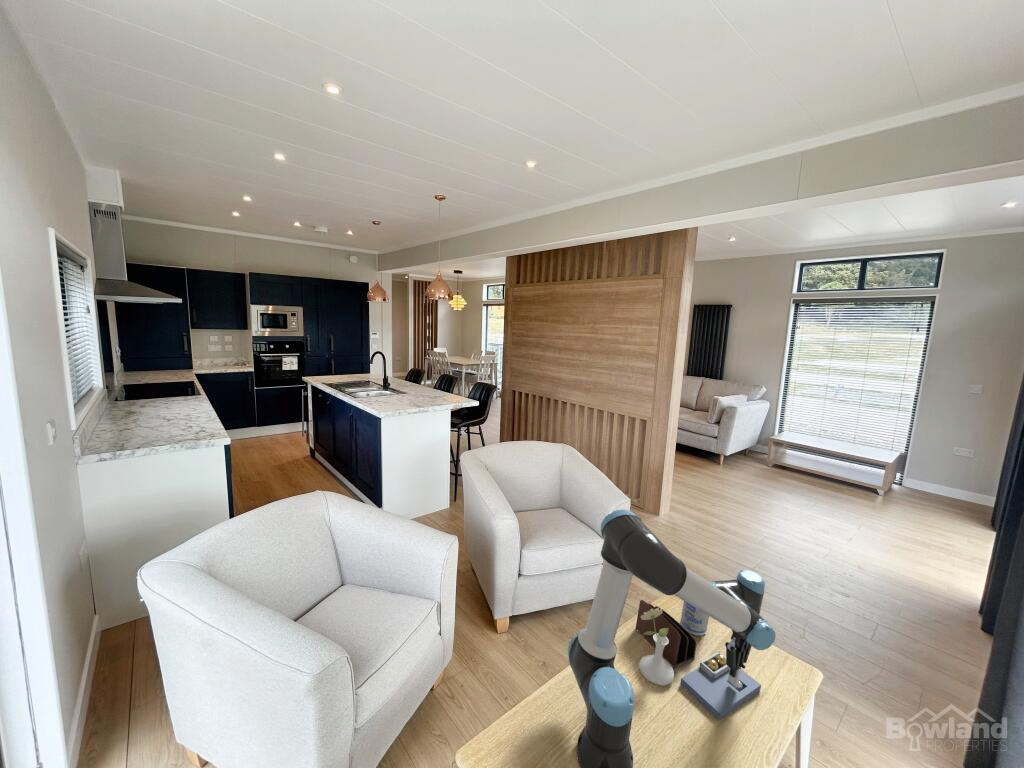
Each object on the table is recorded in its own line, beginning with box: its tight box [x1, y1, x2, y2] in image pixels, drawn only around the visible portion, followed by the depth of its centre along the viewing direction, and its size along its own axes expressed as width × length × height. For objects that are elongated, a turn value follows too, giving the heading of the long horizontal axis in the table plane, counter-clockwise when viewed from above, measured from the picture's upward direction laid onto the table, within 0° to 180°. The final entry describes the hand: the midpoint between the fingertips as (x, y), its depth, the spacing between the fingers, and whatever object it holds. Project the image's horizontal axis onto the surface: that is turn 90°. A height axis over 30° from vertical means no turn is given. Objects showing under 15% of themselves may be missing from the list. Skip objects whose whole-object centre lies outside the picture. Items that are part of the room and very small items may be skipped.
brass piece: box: [707, 659, 718, 672], centre depth 143 cm, size 4×4×4 cm
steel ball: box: [731, 681, 743, 692], centre depth 139 cm, size 3×3×3 cm
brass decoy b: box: [715, 653, 726, 667], centre depth 145 cm, size 4×4×4 cm
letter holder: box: [635, 599, 697, 669], centre depth 156 cm, size 10×20×14 cm, turn 26°
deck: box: [679, 651, 762, 721], centre depth 139 cm, size 22×14×4 cm, turn 120°
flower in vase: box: [638, 608, 675, 686], centre depth 141 cm, size 13×11×25 cm
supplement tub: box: [680, 601, 710, 636], centre depth 165 cm, size 10×10×15 cm
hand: (733, 682), depth 137 cm, fingers closed
